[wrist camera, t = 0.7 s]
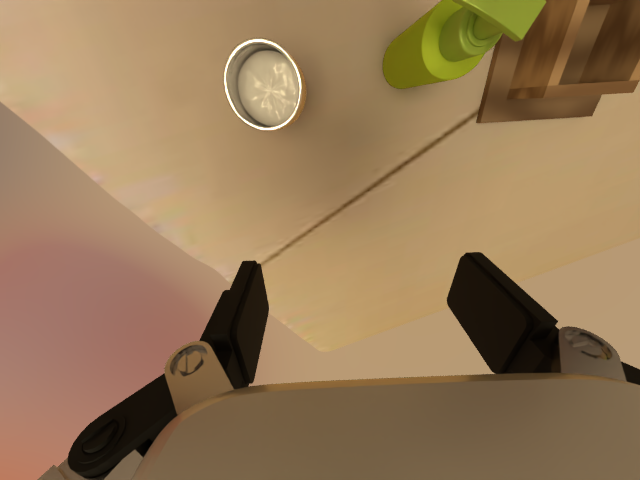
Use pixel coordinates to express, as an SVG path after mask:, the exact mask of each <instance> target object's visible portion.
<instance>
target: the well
mask: <svg viewBox="0 0 640 480" xmlns="http://www.w3.org/2000/svg"><path fill="white" fill-rule="evenodd" d="M545 1H546V3H545V5H544V7H543V8H542V10H541V11H540V13H539V14H538V16H537V17H536V19H535V20H534V22H533V24H532V25H531V27H530V28H529V30H528V31H527V33H526V34H525V36H524V37H523V39H522V40H519V41H516V42H515V41H514V40H512V39H511V38H510V37H508V36H507V35H506V34H504V33H503V34H502V36H501V37H500V39H499V40H498V42H497V43H496V45H495V49H494V53H493V57H492V61H491V65H490V69H489V73H488V77H487V81H486V85H485V89H484V93H483V97H482V101H481V105H480V109H479V113H478V117H477V122H476V123H489V122H505V121H521V120H537V119H553V118H570V117H586V116H592V115H593V113H594V111H595V108H596V106H597V104H598V102H599V100H600V98H601V95H602V94H616V93H632V92H634V90H635V88H636V86H637V84H638V82H639V80H640V0H545Z"/></svg>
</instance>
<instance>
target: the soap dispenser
mask: <svg viewBox="0 0 640 480" xmlns="http://www.w3.org/2000/svg"><path fill="white" fill-rule="evenodd" d="M545 3H546V1H545V0H442V1H441V2H439V3H438V4H437V5H436V6H435V7H433V8H432V9H431V10H430V11H428V12H427V13H426V14H425V15H424V16H422V17H421V18H420V19H419V20H418V21H416V22H415V23H414V24H413V25H411V26H410V27H409V28H408V29H407V30H405V31H404V32H403V33H402V34H401V35H399V36H398V37H397V38H396V39H394V40H393V41H392V43H391V44H390V45H389V47H388V48H387V50H386V52H385V55H384V59H383V73H384V76H385V79H386V80H387V82H388V83H389V84H390V85H391V86H393V87H395V88H398V89H405V88H410V87H416V86H421V85H426V84H432V83H437V82H442V81H447V80H453V79H457V78H459V77H461V76H463V75H465V74H467V73H468V72H469V71H471V70H472V69H473V68H474V67H475V66H476V65H477V64H478V63H479V61H480V60H481V59H482V57H483V55H484V54H485V52H487V51H488V50H490V49H491V48H492V47H493V46H494V45H495V44H496V43H497V42H498V40H499V39H500V37H501V36H502V34H503V33H504V34H506V35H507V36H508V37H510V38H511V39H512V40H514V41H515V42H516V41H519V40H522V39H523V37H524V36H525V34H526V33H527V31H528V30H529V28H530V27H531V25H532V24H533V22H534V20H535V19H536V17H537V16H538V14H539V13H540V11H541V10H542V8H543V7H544V5H545Z"/></svg>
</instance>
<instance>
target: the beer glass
mask: <svg viewBox="0 0 640 480" xmlns="http://www.w3.org/2000/svg"><path fill="white" fill-rule="evenodd" d="M223 85H224V91H225V95H226V98H227V101H228V103H229V105H230V107H231V108H232V110H233V111H234V113H235V114H236V115H237V116H238V118H239V119H240V120H242V121H243V122H244V123H245V124H247V125H248V126H250V127H252V128H254V129H257V130H261V131H273V130H280V129H283V128H285V127H288V126H289V125H291V124H292V123H294V122H295V121H296V120H297V118H298V117H299V116H300V114H301V112H302V110H303V108H304V105H305V101H306V83H305V79H304V75H303V73H302V70H301V68H300V67H299V65H298V63H297V62H296V60H295V59H294V58H293V57H292V56H291V55H290V54H289V53H288V52H287V51H286V50H285V49H284V48H283V47H282V46H281V45H279V44H278V43H276V42H274V41H272V40H269V39H266V38H251V39H247V40H245V41H243V42H241V43H239V44H238V45H237V46H236V47H235V48H234V49H233V50H232V51H231V53H230V54H229V56H228V58H227V60H226V63H225V67H224V72H223Z"/></svg>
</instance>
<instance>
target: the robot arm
mask: <svg viewBox="0 0 640 480" xmlns="http://www.w3.org/2000/svg"><path fill="white" fill-rule="evenodd" d="M447 304H448V306H449V308H450V309H451V311H452V312H453V314H454V315H455V317H456V318H457V319H458V321H459V323H460V324H461V326H462V327H463V329H464V330H465V332H466V333H467V335H468V336H469V338H470V339H471V341H472V342H473V344H474V345H475V347H476V348H477V350H478V351H479V353H480V354H481V356H482V357H483V359H484V360H485V362H486V363H487V365H488V366H489V368H490V369H491V371H492V372H494V373H495V374H485V375H484V374H483V375H455V376H431V377H404V378H381V379H380V378H379V379H358V380H336V381H314V382H297V383H281V384H267V385H259V386H250V387H248V385H249V383H253V381H254V378H255V373H256V368H257V363H258V359H259V354H260V350H261V345H262V340H263V335H264V331H265V327H266V322H267V317H268V312H269V305H268V300H267V294H266V289H265V284H264V279H263V274H262V268H261V264H257V262H256V261H243V262H242V264H241V266H240V268H239V270H238V272H237V275H236V277H235V279H234V281H233V284H232V286H231V288H230V290H225V291H224V292H223V293H222V295H221V297H220V299H219V302H218V303H217V305H216V307H215V310H214V312H213V314H212V316H211V318H210V320H209V322H208V324H207V326H206V328H205V330H204V332H203V334H202V336H201V339H200V341H194V342H190V343H188V344H186V345H183V346H182V347H180V348H179V349H177V350H176V351H175V352H174V353H173V354H172V355H171V356H170V358H169V359H168V361H167V362H166V365H165V368H164V369H165V373H164V374H163V375H161V376H160V377H158V378H157V379H155V380H154V381H152V382H151V383H149V384H147V385H146V386H145V387H143V388H142V389H140V390H138V391H137V392H135V393H134V394H133V395H131V396H129V397H128V398H126V399H125V400H123V401H122V402H121V403H119V404H117V405H116V406H114V407H113V408H112V409H110V410H109V411H107V412H106V413H104V414H103V415H101V416H99V417H98V418H97V419H95V420H94V421H93V422H92V423H90V424H89V425H88V426H87V427H86V428H85V429H84V430H83V431H82V432H81V433H80V435H79V436H78V437H77V439H76V440H75V442H74V443H73V445H72V447H71V450H70V452H69V456H68V458H67V459H66V460H65V461H64V462H62V463H61V464H60V465H59V466H58V467H56V466H55V465H53V466H52V467H51V468H50V469H49V470H48V471H46V472H45V473H44V474H43V475H42V476H41V477H40V478H39V479H38V480H640V370H639V369H637V368H635V367H633V366H630V365H628V364H626V363H623V362H621V361H620V358H619V355H618V353H617V351H616V350H615V349H614V348H613V347H612V346H611V345H610V344H609V343H608V342H606V341H605V340H603V339H602V338H600V337H599V336H597V335H595V334H593V333H591V332H589V331H586V330H584V329H580V328H577V327H569V326H568V327H562V328H561V329H560V330H559V329H558V328H557V327H556V326H555V325H556V323H557V322H558V321H557V320H556V319H555V318H554V317H553V316H552V315H551V314H549V313H548V312H547V311H546V310H545V309H544V308H543V307H542V306H540V305H539V304H538V303H537V302H536V301H535V300H534V299H533V298H531V297H530V296H529V295H528V294H527V293H526V292H525V291H524V290H523V289H521V288H520V287H519V286H518V285H517V284H516V283H515V282H514V281H512V280H511V279H510V278H509V277H508V276H507V275H506V274H505V273H503V272H502V271H501V270H500V269H499V268H498V267H497V266H496V265H495V264H493V263H492V262H491V261H490V260H489V259H488V258H487V257H486V256H484V255H483V254H482V253H480V252H473V253H465V254H464V256H462V257H461V258H460V261H459V264H458V267H457V270H456V273H455V276H454V279H453V282H452V285H451V288H450V291H449V294H448V297H447Z"/></svg>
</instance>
